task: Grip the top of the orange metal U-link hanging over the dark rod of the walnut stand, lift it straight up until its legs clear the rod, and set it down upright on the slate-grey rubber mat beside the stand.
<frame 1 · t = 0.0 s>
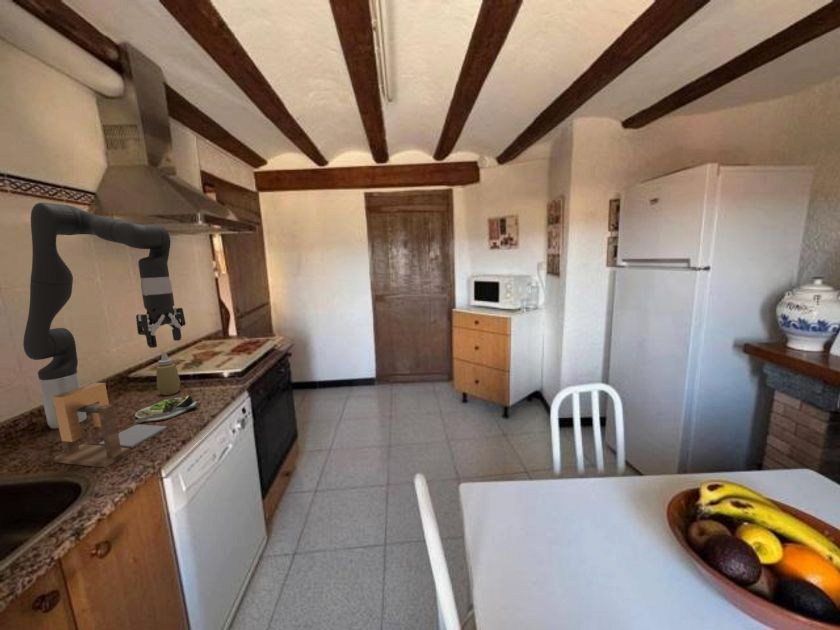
hand: (165, 343, 109), 29 cm above the table, tool pointing down, fingers open, 8 cm apart
salad plate: (169, 412, 129), on the table
mat: (134, 436, 111), on the table
link: (88, 431, 98), point 8 cm above the table, touching stand
stand: (93, 457, 99), on the table
squeeze bottle: (170, 393, 147), on the table
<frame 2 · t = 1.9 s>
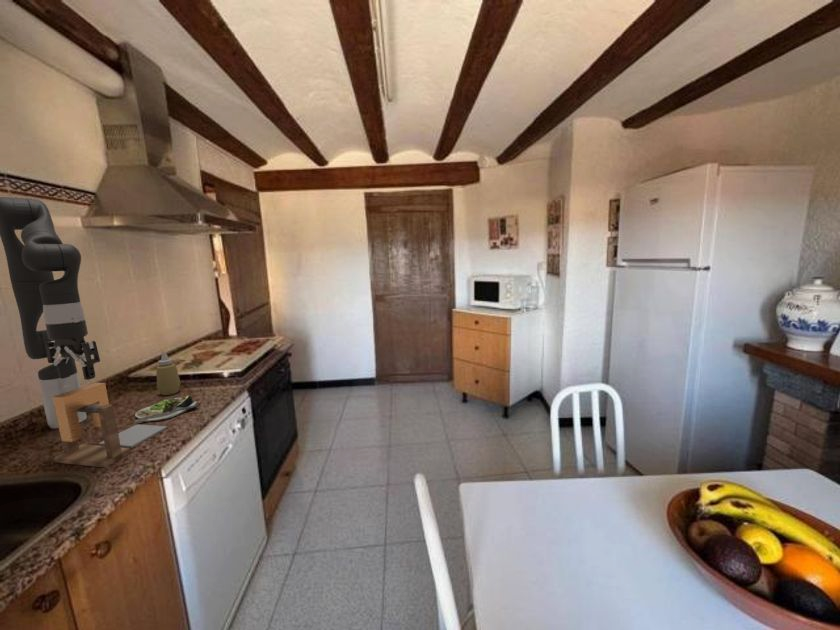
hand: (77, 378, 95), 24 cm above the table, tool pointing down, fingers open, 8 cm apart
nothing on the table moved.
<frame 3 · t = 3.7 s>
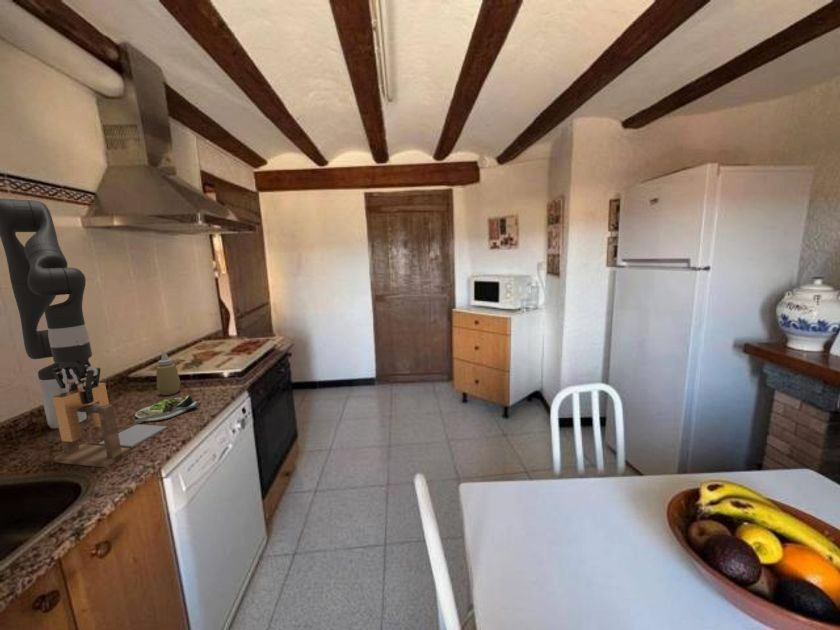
hand: (82, 402, 96), 17 cm above the table, tool pointing down, fingers closed on link, 3 cm apart
link: (88, 431, 98), point 8 cm above the table, touching gripper, stand
everything else where it was.
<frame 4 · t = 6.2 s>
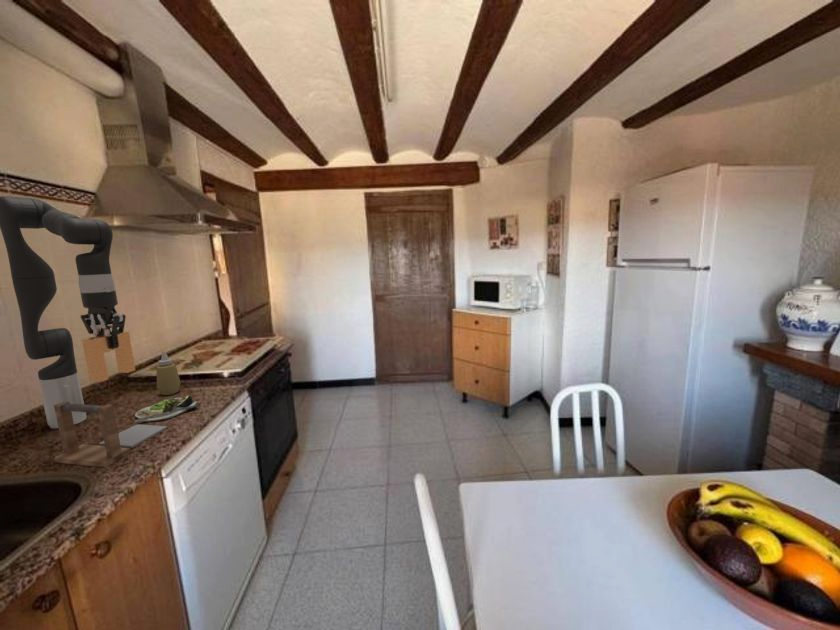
hand: (108, 347, 103), 30 cm above the table, tool pointing down, fingers closed on link, 3 cm apart
link: (113, 375, 105), point 21 cm above the table, touching gripper
everything else where it was.
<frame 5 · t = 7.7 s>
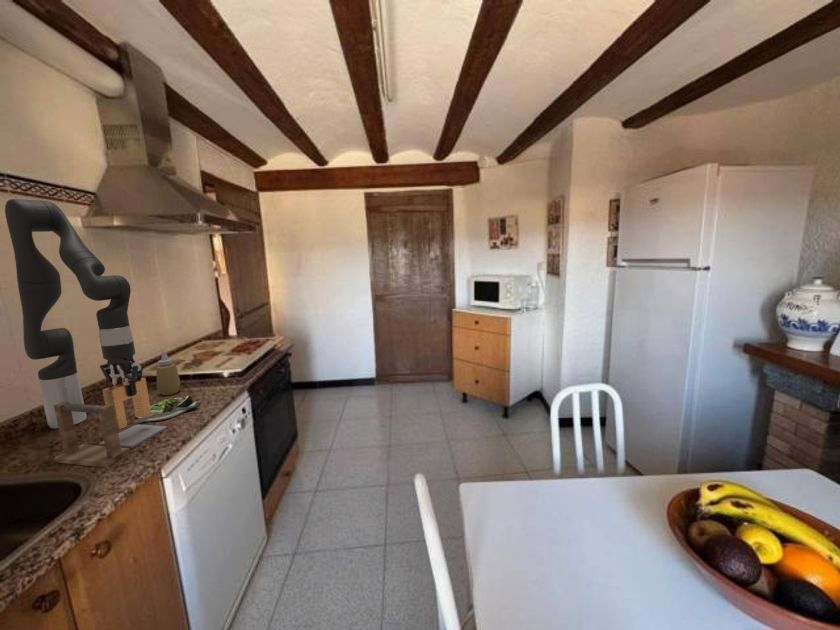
hand: (127, 395, 108), 14 cm above the table, tool pointing down, fingers closed on link, 3 cm apart
link: (131, 421, 110), point 5 cm above the table, touching gripper
everything else where it was.
when the fingers open (10 cm above the table, at t = 8.8 s): link stays where it is, resting on mat.
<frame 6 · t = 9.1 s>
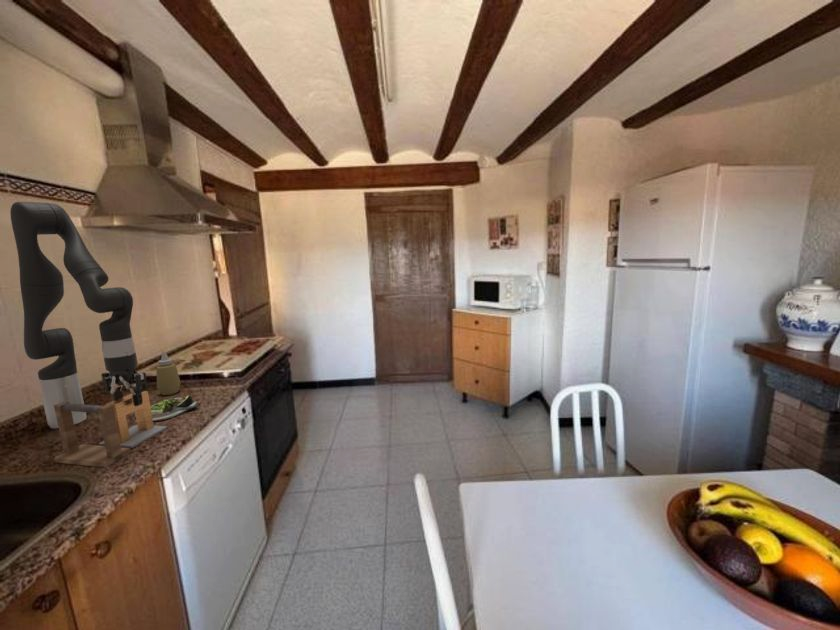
hand: (129, 404, 109), 11 cm above the table, tool pointing down, fingers open, 6 cm apart
link: (134, 434, 111), point 1 cm above the table, touching mat
everything else where it was.
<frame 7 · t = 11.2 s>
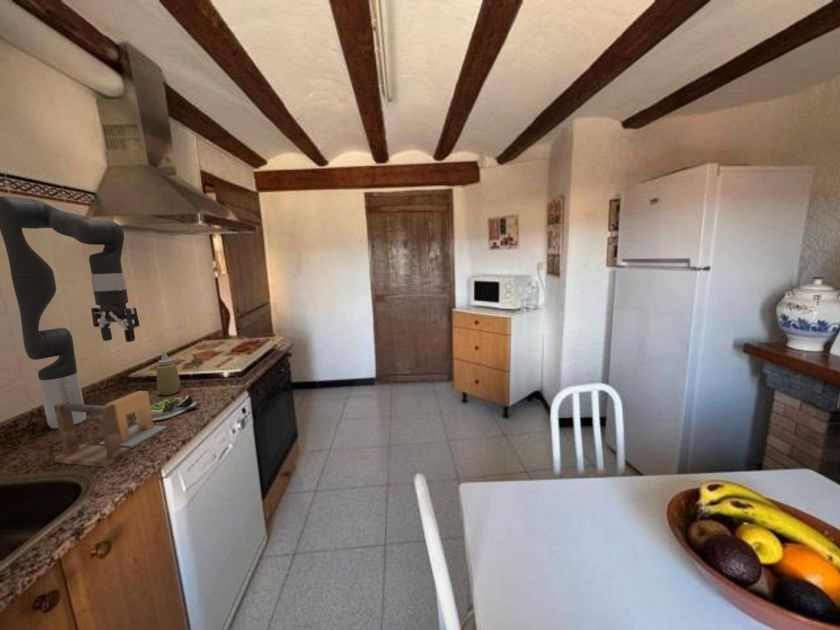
hand: (119, 340, 108), 31 cm above the table, tool pointing down, fingers open, 8 cm apart
nothing on the table moved.
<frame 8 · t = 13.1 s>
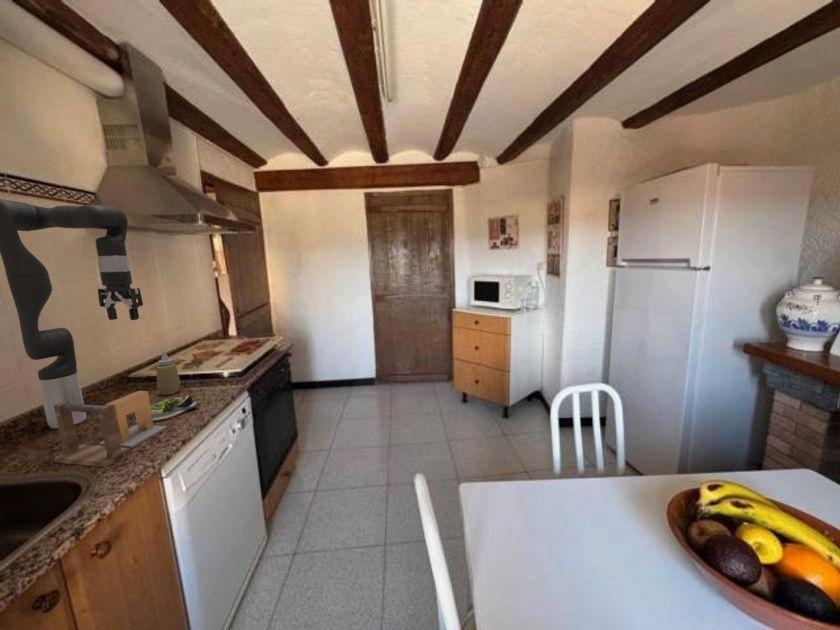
hand: (124, 319, 115), 36 cm above the table, tool pointing down, fingers open, 8 cm apart
nothing on the table moved.
at the end: link inside the target area on the mat (0.1 cm from its centre), point 0.6 cm above the mat's base; link touching mat; the gripper is holding nothing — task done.
